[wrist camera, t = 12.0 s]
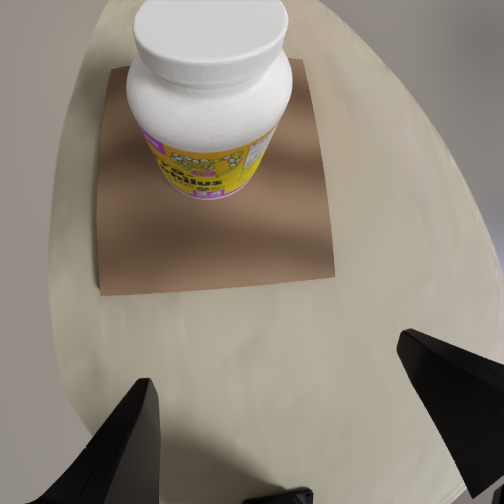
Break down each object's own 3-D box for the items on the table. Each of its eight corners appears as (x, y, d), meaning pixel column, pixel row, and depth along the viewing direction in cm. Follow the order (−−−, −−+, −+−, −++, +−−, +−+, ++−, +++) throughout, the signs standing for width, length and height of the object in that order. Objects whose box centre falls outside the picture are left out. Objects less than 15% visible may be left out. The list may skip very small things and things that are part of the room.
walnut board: (329, 276, 20) (335, 277, 19) (105, 294, 18) (100, 295, 17) (299, 66, 21) (302, 59, 20) (114, 76, 19) (111, 69, 18)
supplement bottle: (141, 168, 18) (59, 45, 5) (200, 99, 19) (196, -48, 6) (221, 223, 19) (235, 137, 6) (276, 147, 19) (352, 14, 7)
